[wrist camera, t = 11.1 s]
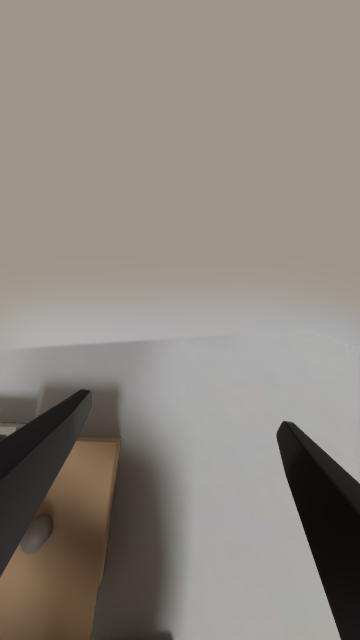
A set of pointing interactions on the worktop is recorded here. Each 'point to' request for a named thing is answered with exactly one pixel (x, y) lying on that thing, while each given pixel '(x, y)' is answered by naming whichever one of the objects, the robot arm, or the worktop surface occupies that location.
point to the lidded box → (63, 550)
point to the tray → (9, 429)
